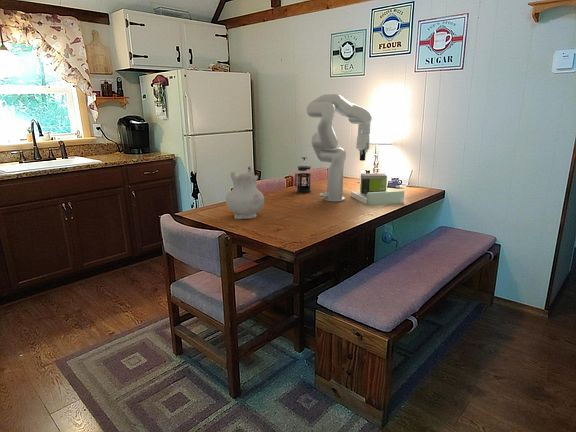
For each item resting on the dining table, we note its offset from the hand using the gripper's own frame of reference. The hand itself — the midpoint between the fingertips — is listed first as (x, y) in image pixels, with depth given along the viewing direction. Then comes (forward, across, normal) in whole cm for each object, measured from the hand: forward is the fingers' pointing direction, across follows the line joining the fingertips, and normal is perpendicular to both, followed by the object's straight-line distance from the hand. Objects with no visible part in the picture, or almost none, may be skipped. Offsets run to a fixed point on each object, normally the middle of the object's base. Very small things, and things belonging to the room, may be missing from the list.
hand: (362, 160), depth 250 cm
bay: (+21, +22, 0) cm, 30 cm away
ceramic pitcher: (+21, +38, -83) cm, 94 cm away
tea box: (+21, +17, 0) cm, 27 cm away
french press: (+21, -10, -37) cm, 44 cm away
